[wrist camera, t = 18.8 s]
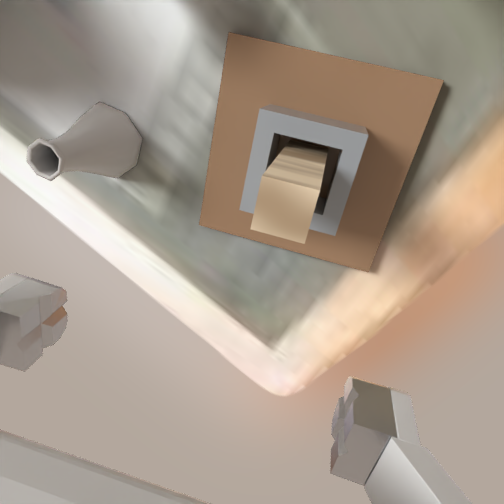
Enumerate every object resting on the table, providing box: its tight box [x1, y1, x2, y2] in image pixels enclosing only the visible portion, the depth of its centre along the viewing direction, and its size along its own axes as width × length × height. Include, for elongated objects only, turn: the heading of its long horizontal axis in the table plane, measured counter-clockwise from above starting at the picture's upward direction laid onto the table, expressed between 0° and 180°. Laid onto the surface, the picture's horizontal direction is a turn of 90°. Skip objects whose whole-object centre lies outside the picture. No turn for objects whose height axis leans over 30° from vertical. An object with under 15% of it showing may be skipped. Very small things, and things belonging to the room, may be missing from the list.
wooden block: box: [250, 140, 328, 244], centre depth 30 cm, size 4×4×14 cm
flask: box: [27, 102, 142, 181], centre depth 36 cm, size 7×7×10 cm
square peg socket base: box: [199, 32, 444, 272], centre depth 34 cm, size 18×18×6 cm
